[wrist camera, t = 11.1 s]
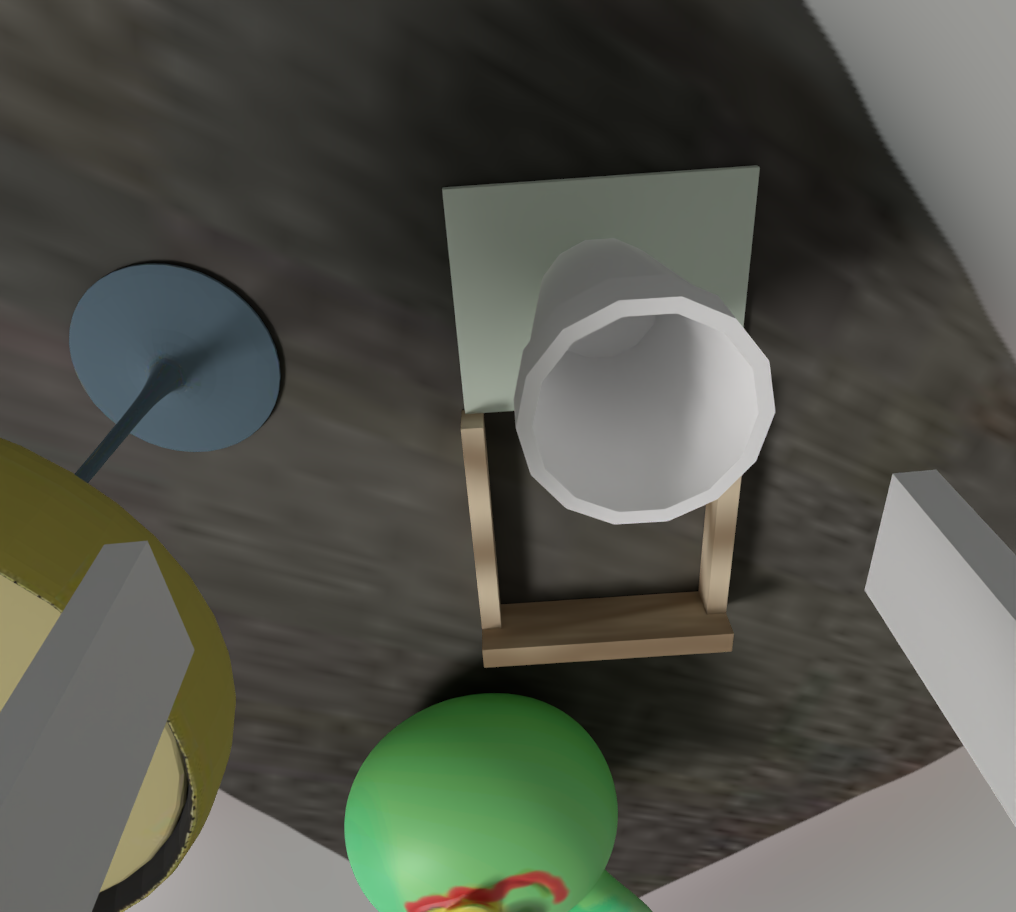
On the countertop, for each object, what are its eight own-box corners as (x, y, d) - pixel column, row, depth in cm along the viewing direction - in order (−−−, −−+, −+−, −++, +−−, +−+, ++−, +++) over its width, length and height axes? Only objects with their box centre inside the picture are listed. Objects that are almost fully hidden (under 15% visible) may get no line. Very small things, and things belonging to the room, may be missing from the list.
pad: (442, 187, 36) (442, 189, 36) (756, 165, 36) (759, 167, 36) (465, 409, 43) (465, 414, 42) (733, 391, 43) (736, 395, 42)
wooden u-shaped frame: (461, 410, 43) (459, 446, 39) (737, 391, 43) (759, 425, 39) (484, 622, 51) (484, 667, 47) (714, 607, 51) (731, 651, 47)
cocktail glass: (338, 195, 37) (134, 477, 15) (357, 506, 46) (247, 953, 24) (-53, 177, 36) (-859, 450, 14) (47, 498, 45) (-350, 955, 23)
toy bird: (552, 616, 51) (575, 820, 38) (637, 763, 59) (679, 971, 46) (319, 699, 54) (270, 911, 42) (429, 827, 62) (416, 1037, 50)
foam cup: (479, 345, 40) (478, 479, 29) (551, 175, 36) (582, 255, 25) (639, 405, 42) (695, 551, 31) (726, 250, 38) (826, 356, 27)
